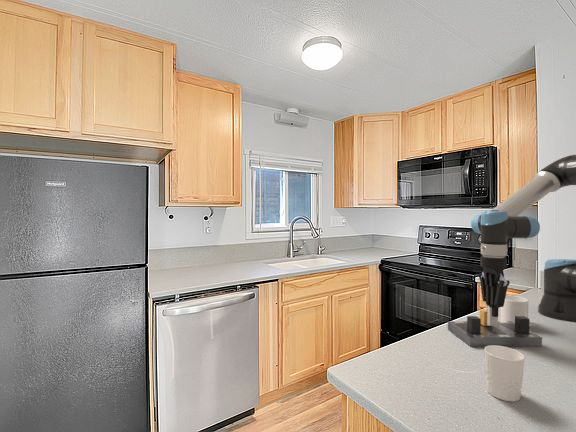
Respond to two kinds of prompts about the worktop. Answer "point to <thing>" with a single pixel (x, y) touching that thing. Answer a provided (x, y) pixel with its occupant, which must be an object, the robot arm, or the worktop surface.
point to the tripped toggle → (483, 317)
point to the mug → (514, 308)
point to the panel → (495, 333)
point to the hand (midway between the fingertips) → (492, 325)
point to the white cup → (504, 372)
